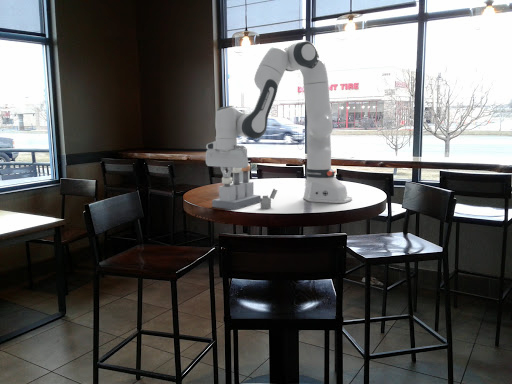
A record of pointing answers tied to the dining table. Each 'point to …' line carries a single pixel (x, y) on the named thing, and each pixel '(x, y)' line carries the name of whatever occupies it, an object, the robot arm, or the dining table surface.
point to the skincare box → (242, 176)
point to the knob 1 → (226, 181)
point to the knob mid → (236, 175)
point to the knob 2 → (245, 174)
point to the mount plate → (236, 196)
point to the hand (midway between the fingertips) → (226, 177)
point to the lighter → (268, 199)
